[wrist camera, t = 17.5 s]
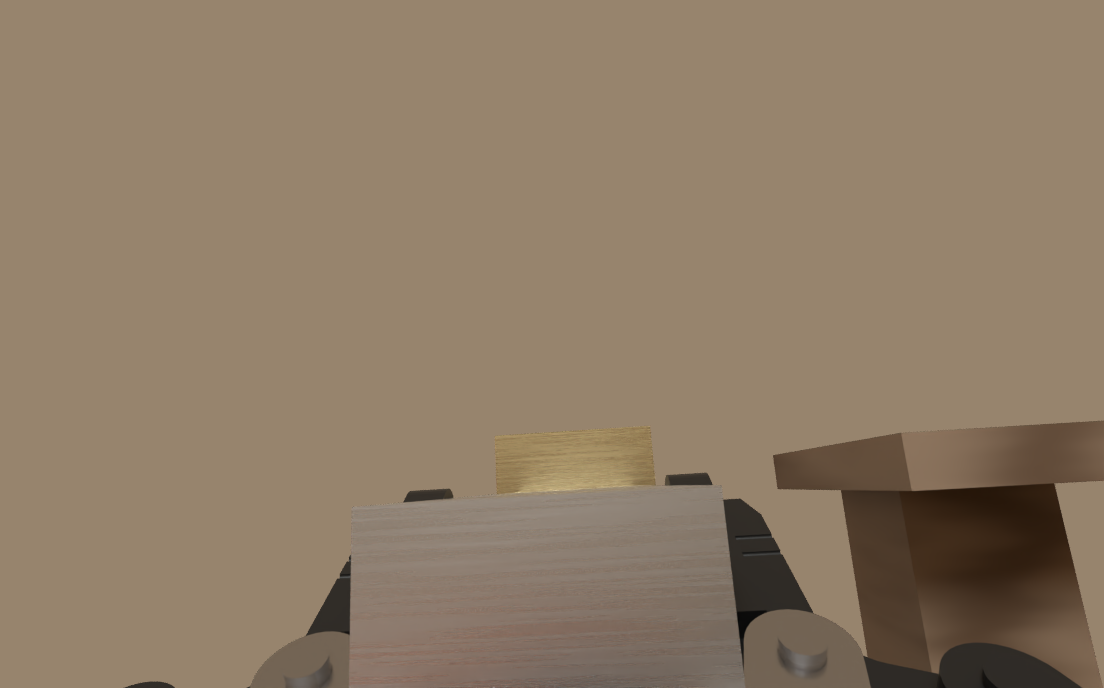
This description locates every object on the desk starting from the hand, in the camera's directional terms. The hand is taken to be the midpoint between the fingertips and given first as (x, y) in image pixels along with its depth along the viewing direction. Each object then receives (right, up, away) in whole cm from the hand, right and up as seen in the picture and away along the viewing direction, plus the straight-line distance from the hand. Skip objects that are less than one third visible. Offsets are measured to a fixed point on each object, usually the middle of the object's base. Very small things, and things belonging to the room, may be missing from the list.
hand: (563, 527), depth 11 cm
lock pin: (0, -4, +3) cm, 5 cm away
